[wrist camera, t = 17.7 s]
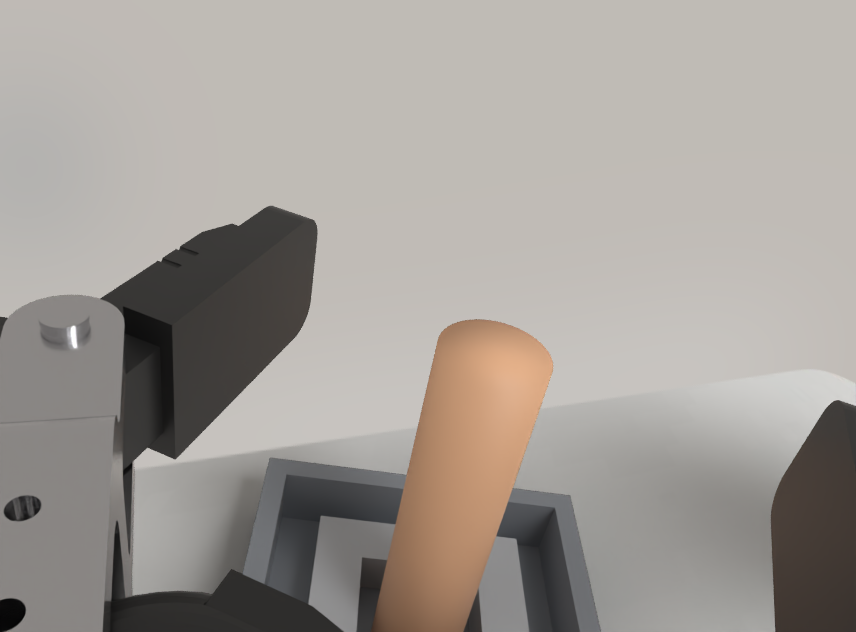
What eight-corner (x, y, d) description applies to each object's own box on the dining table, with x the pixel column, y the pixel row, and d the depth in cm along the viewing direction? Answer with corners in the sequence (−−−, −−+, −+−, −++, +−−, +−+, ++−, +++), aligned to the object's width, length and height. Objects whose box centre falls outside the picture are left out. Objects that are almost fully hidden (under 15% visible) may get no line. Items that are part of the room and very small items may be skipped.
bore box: (549, 544, 42) (570, 495, 40) (605, 850, 29) (639, 803, 27) (264, 510, 40) (269, 457, 38) (195, 820, 28) (196, 768, 26)
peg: (452, 611, 36) (544, 328, 27) (456, 691, 33) (562, 398, 24) (371, 603, 36) (435, 312, 27) (366, 684, 32) (439, 382, 23)
